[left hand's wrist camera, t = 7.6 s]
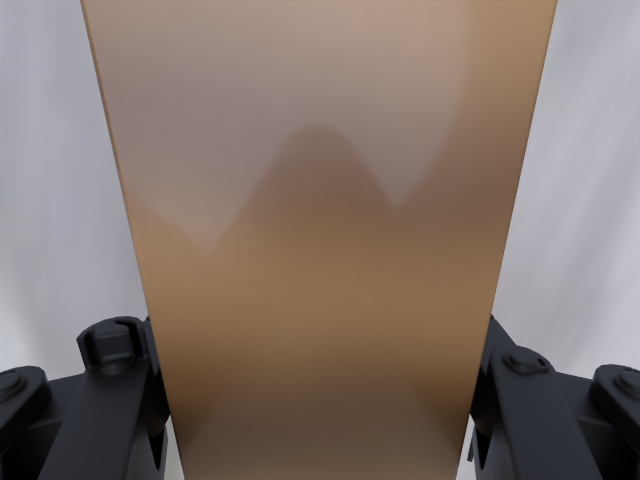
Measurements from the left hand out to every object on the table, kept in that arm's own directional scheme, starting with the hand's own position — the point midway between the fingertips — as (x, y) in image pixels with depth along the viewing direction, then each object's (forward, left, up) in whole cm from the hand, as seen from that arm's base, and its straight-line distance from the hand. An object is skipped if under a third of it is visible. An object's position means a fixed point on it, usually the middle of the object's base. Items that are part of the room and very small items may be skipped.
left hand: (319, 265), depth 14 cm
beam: (+2, +24, -1) cm, 24 cm away
